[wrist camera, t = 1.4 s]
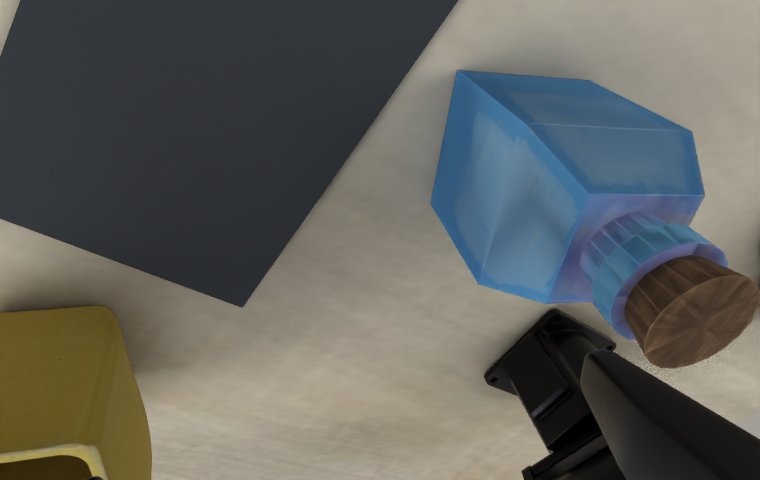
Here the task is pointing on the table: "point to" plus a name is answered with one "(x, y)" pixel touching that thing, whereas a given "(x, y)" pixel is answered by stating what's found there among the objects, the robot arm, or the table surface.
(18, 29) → the desk mat
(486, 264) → the perfume bottle
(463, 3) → the table surface
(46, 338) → the flower pot
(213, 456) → the table surface
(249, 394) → the table surface
